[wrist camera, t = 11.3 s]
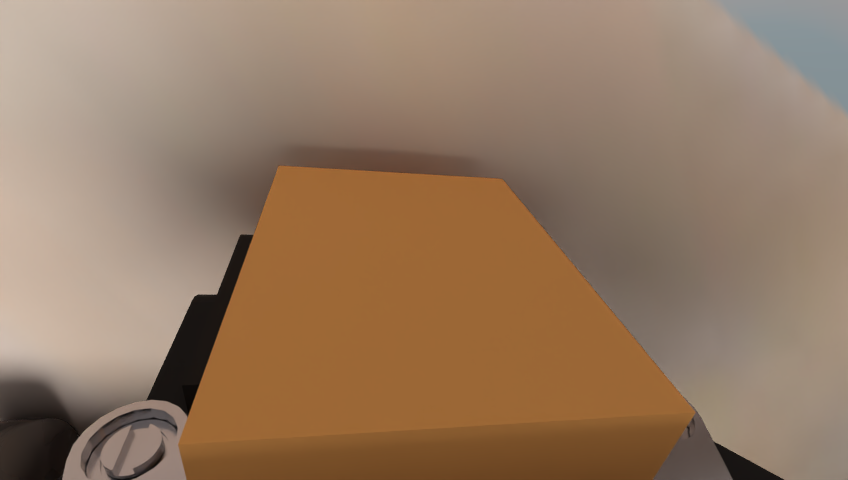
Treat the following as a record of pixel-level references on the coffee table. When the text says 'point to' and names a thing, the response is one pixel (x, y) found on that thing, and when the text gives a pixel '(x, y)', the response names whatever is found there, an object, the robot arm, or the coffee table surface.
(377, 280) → the block
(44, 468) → the trolley
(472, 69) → the coffee table surface
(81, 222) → the coffee table surface
